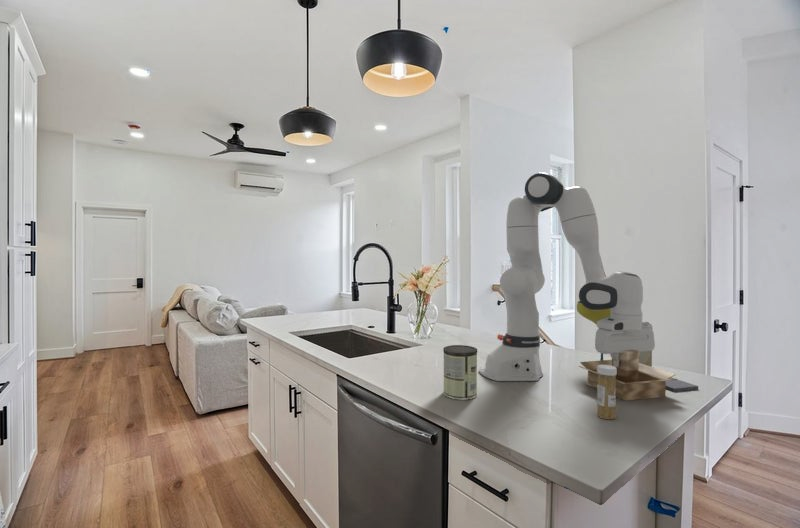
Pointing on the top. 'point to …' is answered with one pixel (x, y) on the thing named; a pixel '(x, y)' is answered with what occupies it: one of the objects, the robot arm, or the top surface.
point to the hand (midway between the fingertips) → (624, 365)
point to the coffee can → (460, 372)
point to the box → (646, 358)
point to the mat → (679, 385)
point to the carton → (646, 387)
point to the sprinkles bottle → (606, 391)
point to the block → (628, 366)
